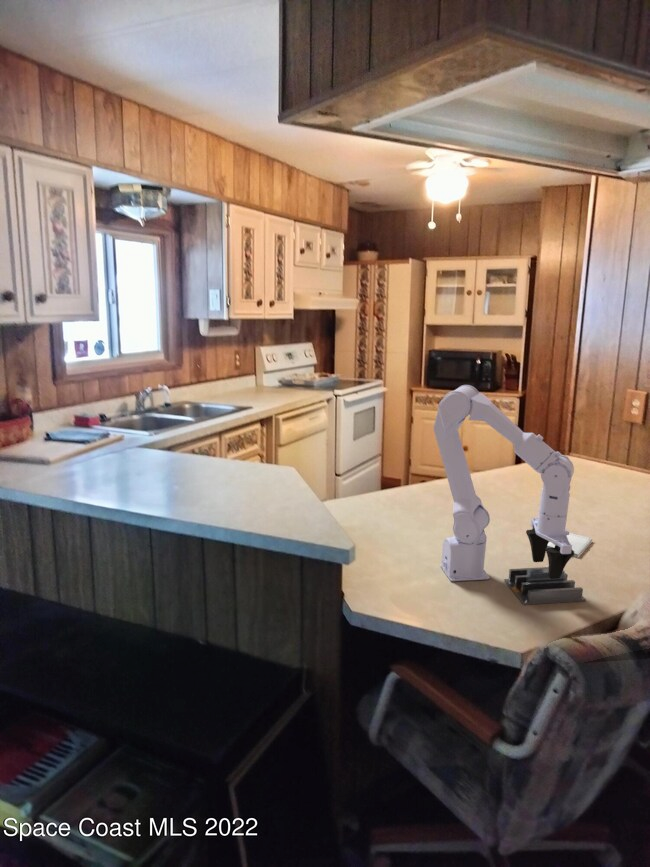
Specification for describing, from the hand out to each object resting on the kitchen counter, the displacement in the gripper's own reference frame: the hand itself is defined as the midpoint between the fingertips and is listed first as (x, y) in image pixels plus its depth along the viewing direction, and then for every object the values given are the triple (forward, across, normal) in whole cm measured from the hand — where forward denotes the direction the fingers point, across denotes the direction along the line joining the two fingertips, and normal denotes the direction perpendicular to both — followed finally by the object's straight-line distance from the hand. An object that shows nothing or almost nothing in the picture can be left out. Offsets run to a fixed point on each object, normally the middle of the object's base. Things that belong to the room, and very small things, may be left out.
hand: (545, 569), depth 134 cm
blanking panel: (+5, 0, 0) cm, 5 cm away
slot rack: (+5, 0, 0) cm, 5 cm away
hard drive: (+6, +22, -18) cm, 29 cm away
